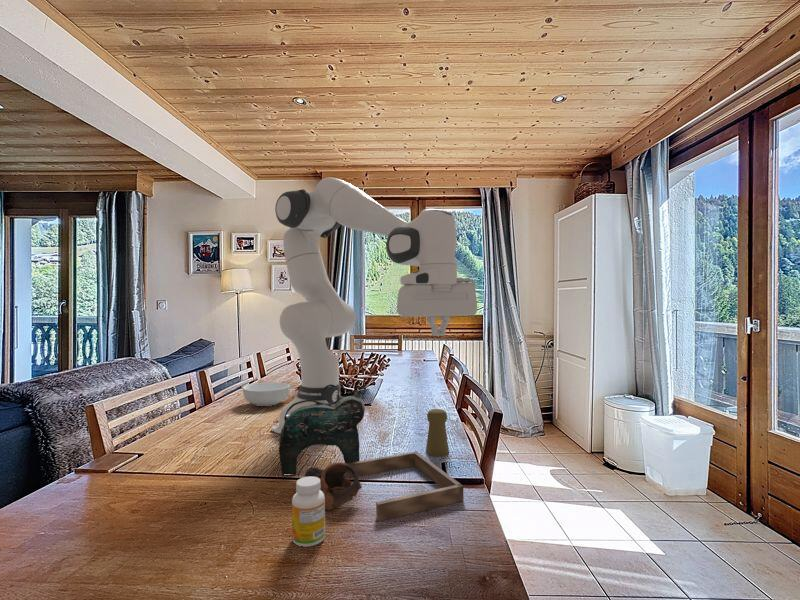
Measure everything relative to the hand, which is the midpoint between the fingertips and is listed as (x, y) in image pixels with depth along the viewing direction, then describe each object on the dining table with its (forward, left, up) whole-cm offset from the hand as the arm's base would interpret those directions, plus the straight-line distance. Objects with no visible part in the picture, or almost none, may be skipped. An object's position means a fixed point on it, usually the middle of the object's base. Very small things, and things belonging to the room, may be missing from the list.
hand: (438, 335), depth 103 cm
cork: (-4, +8, -31) cm, 33 cm away
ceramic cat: (-23, -15, -31) cm, 42 cm away
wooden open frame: (-3, -15, -31) cm, 35 cm away
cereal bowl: (-81, +25, -31) cm, 90 cm away
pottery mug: (-12, -25, -31) cm, 42 cm away
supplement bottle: (-7, -39, -31) cm, 50 cm away
